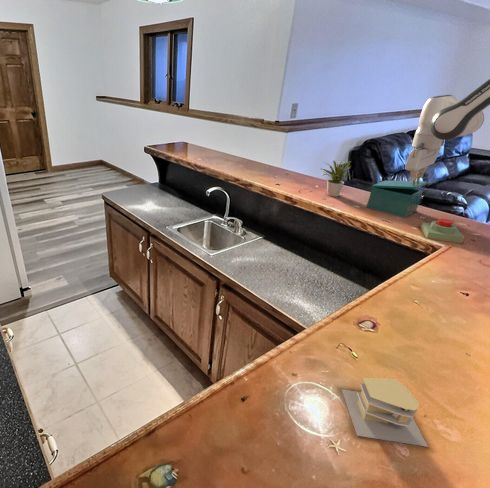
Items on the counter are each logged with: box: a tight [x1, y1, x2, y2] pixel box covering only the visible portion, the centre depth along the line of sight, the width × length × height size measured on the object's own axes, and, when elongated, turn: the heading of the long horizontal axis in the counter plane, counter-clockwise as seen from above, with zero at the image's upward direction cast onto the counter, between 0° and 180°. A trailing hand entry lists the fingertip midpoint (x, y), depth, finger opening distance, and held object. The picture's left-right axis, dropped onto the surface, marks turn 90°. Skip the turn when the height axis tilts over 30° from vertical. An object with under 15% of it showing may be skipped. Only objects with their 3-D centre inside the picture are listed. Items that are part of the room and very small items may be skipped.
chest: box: [366, 187, 424, 218], centre depth 143 cm, size 15×12×9 cm
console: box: [419, 220, 465, 244], centre depth 121 cm, size 10×10×4 cm
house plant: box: [320, 159, 352, 197], centre depth 160 cm, size 14×14×16 cm
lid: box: [371, 172, 428, 189], centre depth 140 cm, size 15×12×5 cm
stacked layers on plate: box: [341, 377, 429, 448], centre depth 56 cm, size 10×9×6 cm
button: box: [437, 218, 454, 227], centre depth 120 cm, size 4×4×2 cm
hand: (415, 178), depth 135 cm, fingers closed on lid, 5 cm apart
